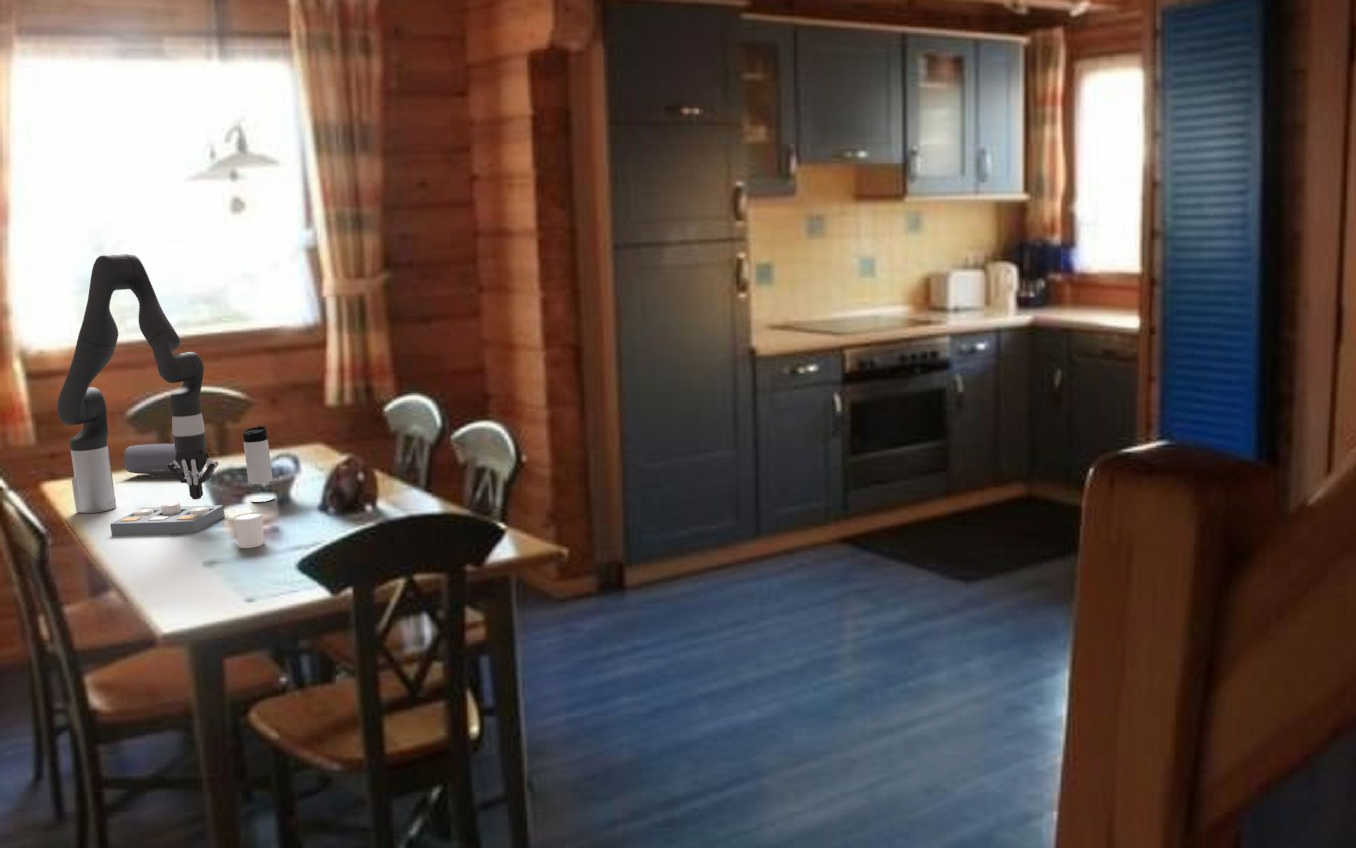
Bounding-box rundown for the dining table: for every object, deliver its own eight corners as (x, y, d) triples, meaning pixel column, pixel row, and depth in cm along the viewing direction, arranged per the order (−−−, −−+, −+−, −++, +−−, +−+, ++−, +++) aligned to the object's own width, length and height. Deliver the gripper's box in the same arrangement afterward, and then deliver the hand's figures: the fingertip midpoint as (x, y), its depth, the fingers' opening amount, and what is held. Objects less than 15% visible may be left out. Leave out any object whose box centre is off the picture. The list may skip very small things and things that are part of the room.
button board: (111, 535, 324) (110, 523, 324) (144, 518, 340) (143, 506, 339) (195, 533, 322) (193, 520, 321) (224, 516, 337) (223, 504, 337)
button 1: (132, 525, 331) (130, 513, 331) (141, 520, 336) (139, 509, 335) (149, 524, 331) (147, 513, 330) (158, 519, 335) (156, 508, 335)
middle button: (159, 518, 330) (157, 507, 330) (168, 514, 335) (166, 502, 334) (176, 518, 330) (174, 506, 329) (184, 513, 334) (183, 502, 334)
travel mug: (280, 497, 355) (272, 425, 351) (263, 503, 349) (254, 430, 345) (262, 496, 358) (254, 425, 354) (245, 502, 352) (236, 430, 348)
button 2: (187, 523, 330) (186, 511, 329) (196, 518, 334) (194, 507, 334) (204, 522, 329) (203, 511, 329) (213, 518, 334) (211, 506, 333)
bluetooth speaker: (209, 472, 395) (205, 440, 394) (191, 479, 386) (187, 446, 385) (143, 472, 401) (139, 441, 399) (124, 480, 392) (120, 447, 390)
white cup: (238, 550, 303) (234, 521, 302) (233, 544, 309) (230, 515, 308) (268, 545, 306) (265, 516, 305) (263, 539, 312) (259, 510, 311)
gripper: (220, 428, 330) (228, 494, 334) (171, 429, 332) (179, 495, 335) (206, 434, 323) (214, 502, 326) (156, 435, 325) (165, 502, 328)
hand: (196, 498), depth 331 cm, fingers closed
